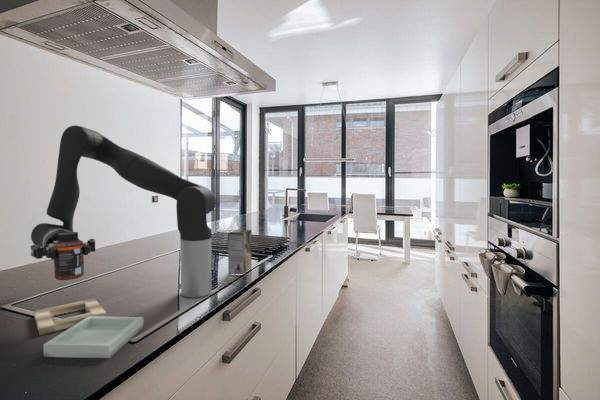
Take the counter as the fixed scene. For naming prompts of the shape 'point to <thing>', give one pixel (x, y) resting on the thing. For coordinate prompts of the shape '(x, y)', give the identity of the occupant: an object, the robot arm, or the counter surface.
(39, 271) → the counter surface
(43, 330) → the frame
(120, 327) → the tray
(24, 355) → the counter surface
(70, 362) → the counter surface
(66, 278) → the supplement bottle
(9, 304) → the counter surface
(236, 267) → the coffee box
